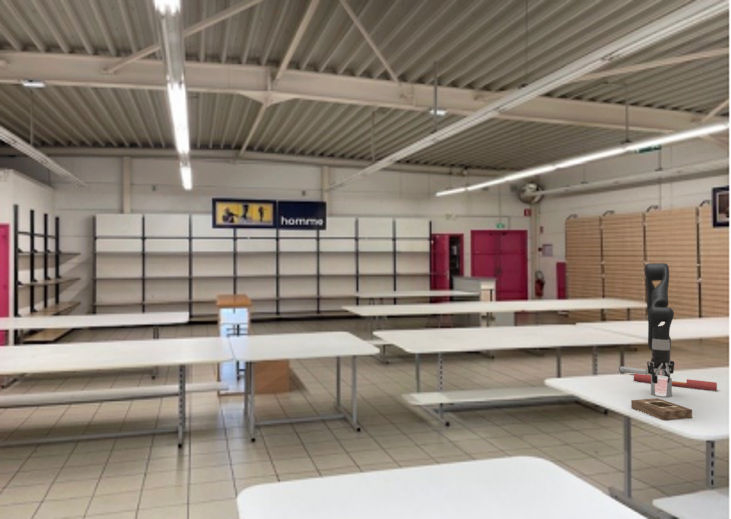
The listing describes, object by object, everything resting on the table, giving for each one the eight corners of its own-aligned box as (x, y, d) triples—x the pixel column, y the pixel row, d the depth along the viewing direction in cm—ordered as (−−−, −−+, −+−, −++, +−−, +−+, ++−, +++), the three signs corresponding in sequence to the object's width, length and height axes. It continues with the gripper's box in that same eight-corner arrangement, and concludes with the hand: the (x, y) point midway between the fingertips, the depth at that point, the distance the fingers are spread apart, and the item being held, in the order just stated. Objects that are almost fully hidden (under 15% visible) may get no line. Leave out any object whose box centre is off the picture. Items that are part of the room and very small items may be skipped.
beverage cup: (671, 396, 244) (671, 367, 244) (661, 397, 242) (661, 367, 242) (660, 393, 250) (660, 364, 250) (650, 393, 248) (650, 365, 248)
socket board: (657, 406, 258) (657, 397, 258) (692, 418, 238) (692, 409, 238) (631, 408, 254) (631, 399, 254) (663, 420, 234) (663, 411, 235)
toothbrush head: (623, 365, 340) (657, 367, 318) (624, 375, 340) (659, 378, 317) (617, 366, 338) (651, 368, 316) (618, 376, 337) (653, 379, 315)
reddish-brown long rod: (716, 390, 292) (716, 381, 292) (716, 392, 288) (716, 383, 288) (634, 380, 315) (634, 372, 315) (633, 382, 311) (633, 374, 311)
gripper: (666, 346, 252) (666, 380, 252) (642, 347, 248) (642, 381, 248) (679, 349, 244) (679, 383, 244) (654, 350, 241) (654, 385, 241)
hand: (660, 382), depth 246 cm, fingers closed on beverage cup, 6 cm apart
